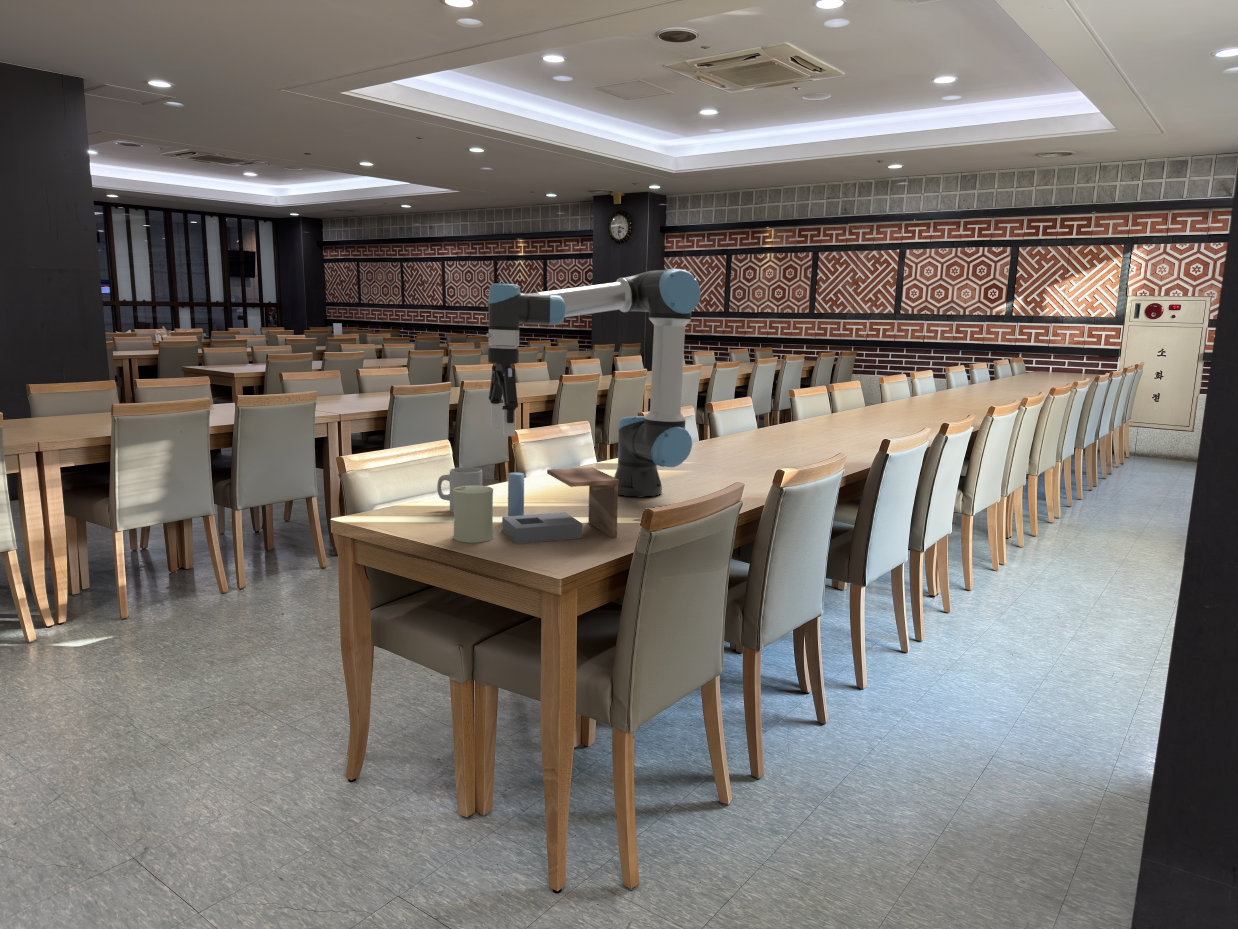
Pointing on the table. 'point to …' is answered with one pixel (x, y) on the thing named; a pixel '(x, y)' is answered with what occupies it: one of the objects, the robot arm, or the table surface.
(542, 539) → the socket
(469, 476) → the mug
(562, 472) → the wooden l-bracket
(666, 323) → the robot arm
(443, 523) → the table surface
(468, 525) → the can
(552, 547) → the table surface
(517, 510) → the peg
